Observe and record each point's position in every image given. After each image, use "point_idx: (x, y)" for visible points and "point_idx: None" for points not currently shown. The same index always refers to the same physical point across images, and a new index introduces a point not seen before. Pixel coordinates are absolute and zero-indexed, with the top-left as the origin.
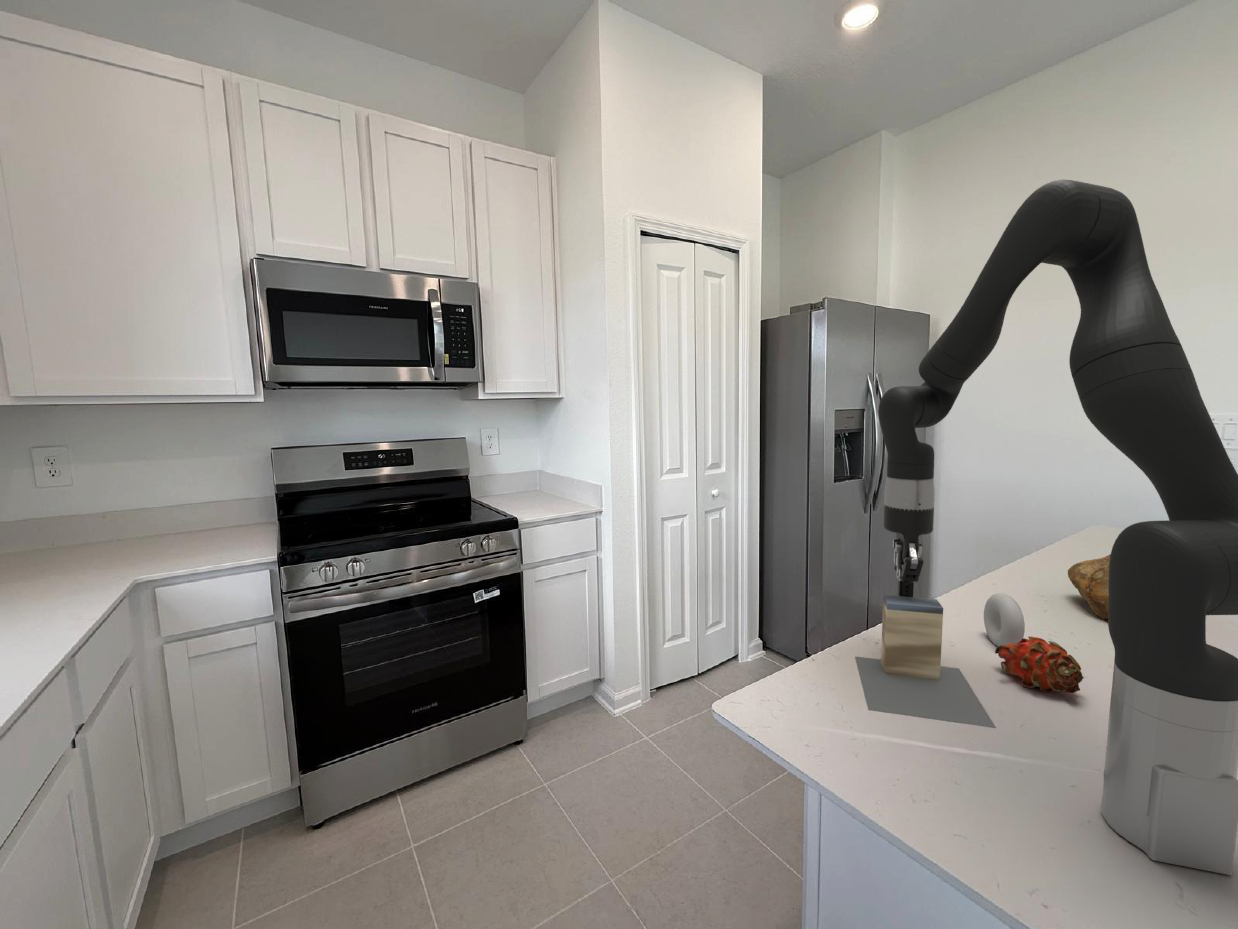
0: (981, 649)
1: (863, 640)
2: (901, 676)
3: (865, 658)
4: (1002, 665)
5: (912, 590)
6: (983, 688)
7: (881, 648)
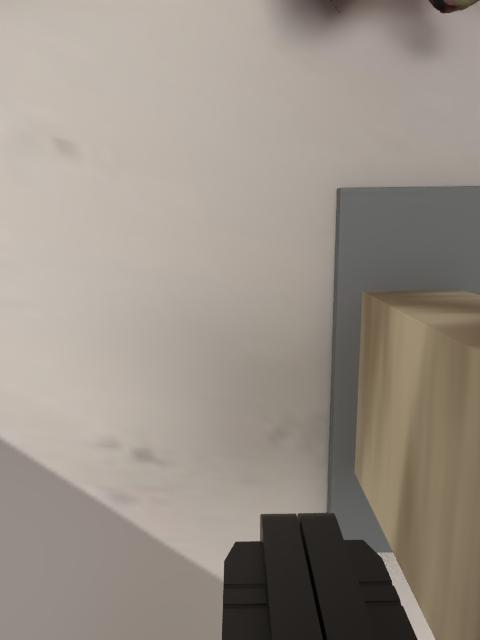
0: (63, 14)
1: (137, 500)
2: None
3: (338, 521)
4: (464, 3)
5: (362, 600)
6: (460, 129)
7: (373, 507)
